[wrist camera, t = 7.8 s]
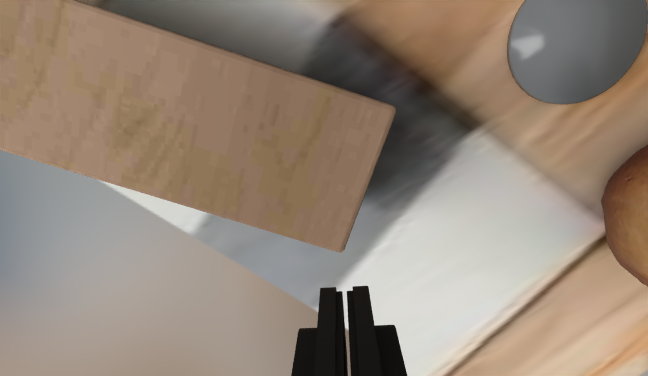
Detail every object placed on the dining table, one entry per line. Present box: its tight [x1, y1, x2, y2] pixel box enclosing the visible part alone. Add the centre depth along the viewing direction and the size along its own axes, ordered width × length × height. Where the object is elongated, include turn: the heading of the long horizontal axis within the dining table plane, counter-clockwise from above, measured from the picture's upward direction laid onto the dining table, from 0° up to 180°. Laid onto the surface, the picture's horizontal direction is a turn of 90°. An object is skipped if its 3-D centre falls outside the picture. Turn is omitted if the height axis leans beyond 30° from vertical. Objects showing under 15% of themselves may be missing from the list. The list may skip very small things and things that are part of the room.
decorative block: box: [0, 0, 396, 252], centre depth 23 cm, size 10×10×30 cm
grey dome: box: [507, 0, 648, 104], centre depth 25 cm, size 10×10×1 cm
